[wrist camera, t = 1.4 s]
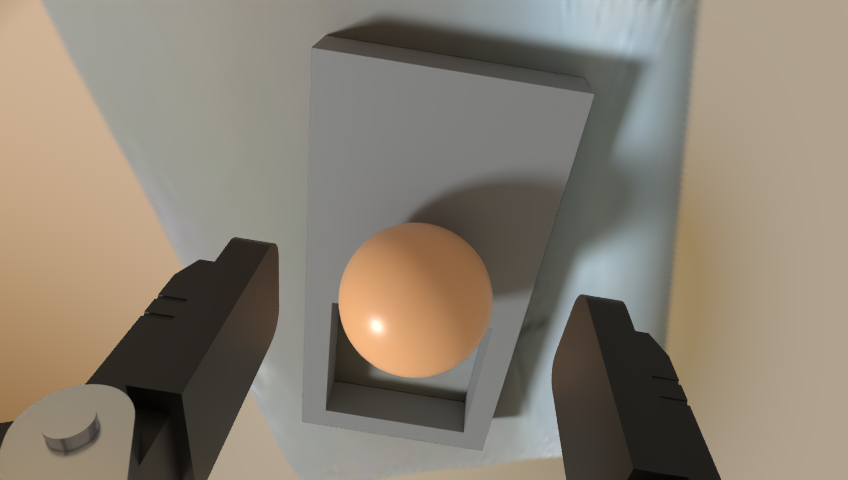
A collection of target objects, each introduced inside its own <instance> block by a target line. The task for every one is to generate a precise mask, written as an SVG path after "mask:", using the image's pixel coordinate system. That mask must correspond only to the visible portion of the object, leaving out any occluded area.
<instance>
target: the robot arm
mask: <svg viewBox="0 0 848 480" xmlns="http://www.w3.org/2000/svg"><path fill="white" fill-rule="evenodd" d="M278 314H279V255H278V247H277V245H276V244H274V243H268V242H262V241H255V240H249V239H243V238H237V237H235V238H233V239H231V240H230V242H229V243H228V244H227V246H226V247H225V249H224V250H223V251H222V253H221V254H220V255H219V257H218V258H217V260H216V261H215V262H212V261H206V260H198V261H196V262H195V263H193V264H191V265H190V266H188V267H186V268H185V269H183V270H181V271H180V272H178V273H176V274H175V275H174V276H173V277H172V278H171V279H170V281H169V282H168V283H167V284H166V286H165V287H164V288H163V289H162V291H161V292H160V293H159V295H158V298H157V299H154V300H153V302H152V303H151V304H150V306H149V307H148V308H147V309H146V310H145V314H144V316H140V318H139V319H138V320H137V321H136V323H135V324H134V325H133V326H132V328H131V329H130V330H129V331H128V332H127V334H126V335H125V336H124V337H123V339H122V340H121V341H120V342H119V343H118V345H117V346H116V347H115V348H114V350H113V351H112V352H111V354H110V355H109V356H108V357H107V358H106V360H105V361H104V362H103V363H102V365H101V366H100V367H99V368H98V370H97V371H96V372H95V373H94V374H93V376H92V377H91V378H90V379H89V380H88V382H87V383H86V384H85V385H79V386H74V387H69V388H66V389H63V390H59V391H57V392H55V393H52V394H50V395H48V396H46V397H44V398H42V399H40V400H38V401H37V402H36V403H34V404H32V405H31V406H30V407H29V408H27V409H26V410H25V411H24V412H22V413H21V414H20V415H19V416H18V418H16V420H15V421H11V422H5V423H0V480H207V479H208V477H209V475H210V473H211V470H212V468H213V466H214V464H215V462H216V460H217V457H218V455H219V453H220V451H221V449H222V446H223V445H224V442H225V440H226V438H227V436H228V434H229V432H230V430H231V427H232V425H233V423H234V421H235V419H236V417H237V415H238V412H239V410H240V408H241V406H242V404H243V402H244V400H245V397H246V395H247V393H248V391H249V389H250V387H251V385H252V383H253V380H254V378H255V376H256V374H257V372H258V370H259V368H260V365H261V363H262V361H263V359H264V357H265V355H266V353H267V350H268V348H269V346H270V344H271V342H272V339H273V337H274V333H275V330H276V326H277V321H278ZM678 381H679V379H678V377H677V375H676V372H675V370H674V367H673V365H672V363H671V360H670V358H669V356H668V355H667V353H666V352H665V351H664V350H663V349H662V348H661V347H660V346H659V345H658V343H657V342H656V341H655V340H654V339H653V338H652V337H651V336H650V335H649V333H643V332H637V331H635V329H634V326H633V324H632V321H631V318H630V316H629V313H628V310H627V308H626V305H625V304H624V302H622V301H619V300H613V299H607V298H600V297H594V296H588V295H579V296H578V298H577V299H576V301H575V303H574V306H573V308H572V311H571V314H570V316H569V319H568V322H567V324H566V327H565V330H564V332H563V335H562V338H561V340H560V343H559V346H558V348H557V351H556V354H555V357H554V361H553V367H552V391H553V397H554V404H555V410H556V416H557V423H558V429H559V436H560V442H561V448H562V455H563V461H564V468H565V474H566V480H721V478H720V476H719V473H718V471H717V469H716V466H715V464H714V462H713V459H712V457H711V455H710V452H709V450H708V447H707V445H706V443H705V440H704V438H703V436H702V433H701V431H700V429H699V426H698V424H697V422H696V419H695V417H694V415H693V412H692V410H691V407H690V406H688V405H687V398H686V396H685V393H684V391H683V389H682V386H681V385H679V384H678Z"/></svg>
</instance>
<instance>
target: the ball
mask: <svg viewBox="0 0 848 480" xmlns="http://www.w3.org/2000/svg"><path fill="white" fill-rule="evenodd" d="M492 305H493V294H492V287H491V281H490V278H489V275H488V272H487V270H486V267H485V265H484V263H483V261H482V260H481V258H480V257H479V255H478V254H477V253H476V251H475V250H474V249H473V248H472V247H471V246H470V245H469V244H468V243H467V242H466V241H465V240H464V239H462V238H461V237H460V236H458V235H457V234H455V233H453V232H452V231H450V230H447V229H445V228H443V227H440V226H437V225H433V224H428V223H404V224H399V225H395V226H392V227H389V228H387V229H384V230H382V231H380V232H378V233H376V234H375V235H373V236H372V237H371V238H369V239H368V240H367V241H365V242H364V243H363V244H362V245H361V246H360V247H359V248H358V249H357V251H356V252H355V253H354V255H353V256H352V257H351V259H350V260H349V262H348V264H347V266H346V268H345V270H344V273H343V276H342V279H341V283H340V288H339V312H340V317H341V322H342V325H343V328H344V330H345V333H346V335H347V337H348V339H349V340H350V342H351V343H352V345H353V346H354V347H355V349H356V350H357V351H358V352H359V354H360V355H361V356H362V357H364V358H365V359H366V360H367V361H368V362H370V363H371V364H372V365H374V366H375V367H377V368H379V369H381V370H383V371H385V372H387V373H390V374H393V375H397V376H401V377H408V378H423V377H430V376H434V375H438V374H441V373H443V372H446V371H448V370H450V369H452V368H454V367H456V366H457V365H459V364H460V363H461V362H463V361H464V360H465V359H467V358H468V357H469V356H470V355H471V354H472V352H473V351H474V350H475V349H476V348H477V346H478V345H479V344H480V342H481V340H482V339H483V337H484V335H485V333H486V331H487V328H488V325H489V322H490V319H491V314H492Z"/></svg>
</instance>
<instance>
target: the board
mask: <svg viewBox="0 0 848 480" xmlns="http://www.w3.org/2000/svg"><path fill="white" fill-rule="evenodd" d="M594 95H595V94H594V92H593V90H592V89H591V87H590V86H589V84H588V82H587V81H586V79H585V78H582V77H576V76H570V75H564V74H558V73H552V72H546V71H540V70H534V69H528V68H522V67H516V66H510V65H504V64H498V63H491V62H485V61H479V60H473V59H467V58H461V57H455V56H449V55H443V54H437V53H431V52H425V51H419V50H413V49H406V48H400V47H394V46H388V45H382V44H376V43H370V42H364V41H358V40H352V39H346V38H340V37H334V36H328V35H325V36H324V37H323V38H322V39H321V40H320V41H318V42H317V43H316V44H315V45H314V46H313V47H312V48H311V88H310V127H309V167H308V206H307V246H306V285H305V325H304V364H303V403H302V422H306V423H312V424H318V425H324V426H331V427H337V428H343V429H349V430H355V431H362V432H368V433H374V434H380V435H386V436H393V437H399V438H405V439H411V440H417V441H424V442H430V443H436V444H442V445H448V446H455V447H461V448H467V449H473V450H479V451H482V450H483V447H484V443H485V440H486V437H487V434H488V431H489V428H490V424H491V421H492V418H493V415H494V412H495V409H496V405H497V402H498V399H499V396H500V393H501V390H502V386H503V383H504V380H505V377H506V374H507V371H508V367H509V364H510V361H511V358H512V355H513V352H514V348H515V345H516V342H517V339H518V336H519V333H520V329H521V326H522V323H523V320H524V317H525V314H526V311H527V307H528V304H529V301H530V298H531V295H532V292H533V288H534V285H535V282H536V279H537V276H538V273H539V269H540V266H541V263H542V260H543V257H544V254H545V250H546V247H547V244H548V241H549V238H550V235H551V231H552V228H553V225H554V222H555V219H556V216H557V212H558V209H559V206H560V203H561V200H562V197H563V193H564V190H565V187H566V184H567V181H568V178H569V174H570V171H571V168H572V165H573V162H574V159H575V155H576V152H577V149H578V146H579V143H580V140H581V136H582V133H583V130H584V127H585V124H586V121H587V117H588V114H589V111H590V108H591V105H592V102H593V98H594ZM404 223H428V224H433V225H437V226H440V227H443V228H445V229H447V230H450V231H452V232H453V233H455V234H457V235H458V236H460V237H461V238H462V239H464V240H465V241H466V242H467V243H468V244H469V245H470V246H471V247H472V248H473V249H474V250H475V251H476V253H477V254H478V255H479V257H480V258H481V260H482V261H483V263H484V265H485V267H486V270H487V272H488V275H489V278H490V281H491V287H492V294H493V305H492V314H491V319H490V322H489V325H488V328H487V331H486V333H485V335H484V337H483V339H482V340H481V342H480V346H479V349H478V353H477V357H476V361H475V364H474V368H473V372H472V376H471V379H470V383H469V387H468V391H467V394H466V398H465V402H460V401H454V400H448V399H441V398H435V397H429V396H423V395H417V394H411V393H404V392H398V391H392V390H386V389H380V388H373V387H367V386H361V385H355V384H349V383H342V382H336V381H334V377H335V363H336V348H337V334H338V320H339V288H340V283H341V279H342V276H343V273H344V270H345V268H346V266H347V264H348V262H349V260H350V259H351V257H352V256H353V255H354V253H355V252H356V251H357V249H358V248H359V247H360V246H361V245H362V244H363V243H364V242H365V241H367V240H368V239H369V238H371V237H372V236H373V235H375V234H376V233H378V232H380V231H382V230H384V229H387V228H389V227H392V226H395V225H399V224H404Z"/></svg>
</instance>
